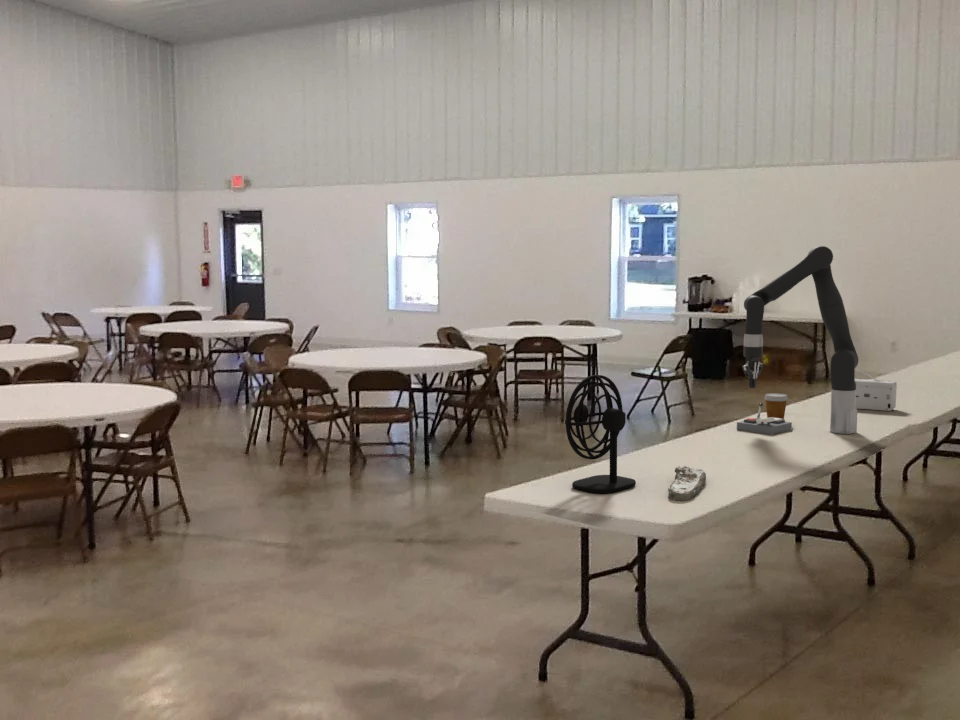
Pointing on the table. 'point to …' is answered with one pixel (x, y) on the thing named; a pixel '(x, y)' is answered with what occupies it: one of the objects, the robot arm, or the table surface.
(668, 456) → the table surface
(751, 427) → the panel
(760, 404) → the toggle
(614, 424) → the desk fan
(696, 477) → the long grey stone
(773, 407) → the disposable coffee cup
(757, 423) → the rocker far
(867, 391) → the stereo radio cassette player
